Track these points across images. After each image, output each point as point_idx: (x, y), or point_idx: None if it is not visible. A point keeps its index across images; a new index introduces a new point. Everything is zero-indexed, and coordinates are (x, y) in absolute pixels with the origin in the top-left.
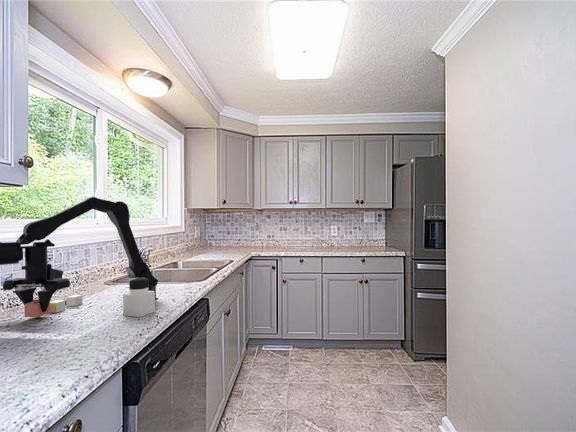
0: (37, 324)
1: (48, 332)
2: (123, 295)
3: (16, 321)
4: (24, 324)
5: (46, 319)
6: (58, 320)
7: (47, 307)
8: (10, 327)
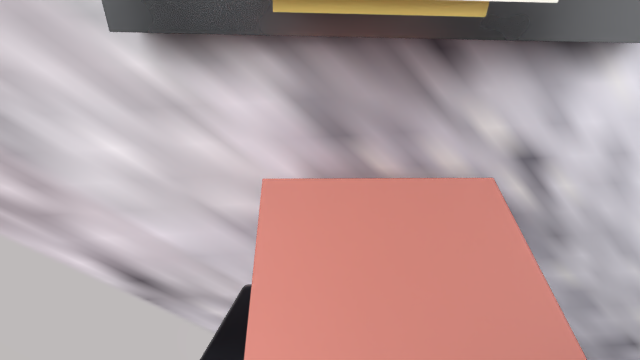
0: None
1: (633, 347)
2: None
3: (24, 162)
4: (256, 235)
5: (363, 63)
6: (573, 94)
7: None
8: (209, 300)
